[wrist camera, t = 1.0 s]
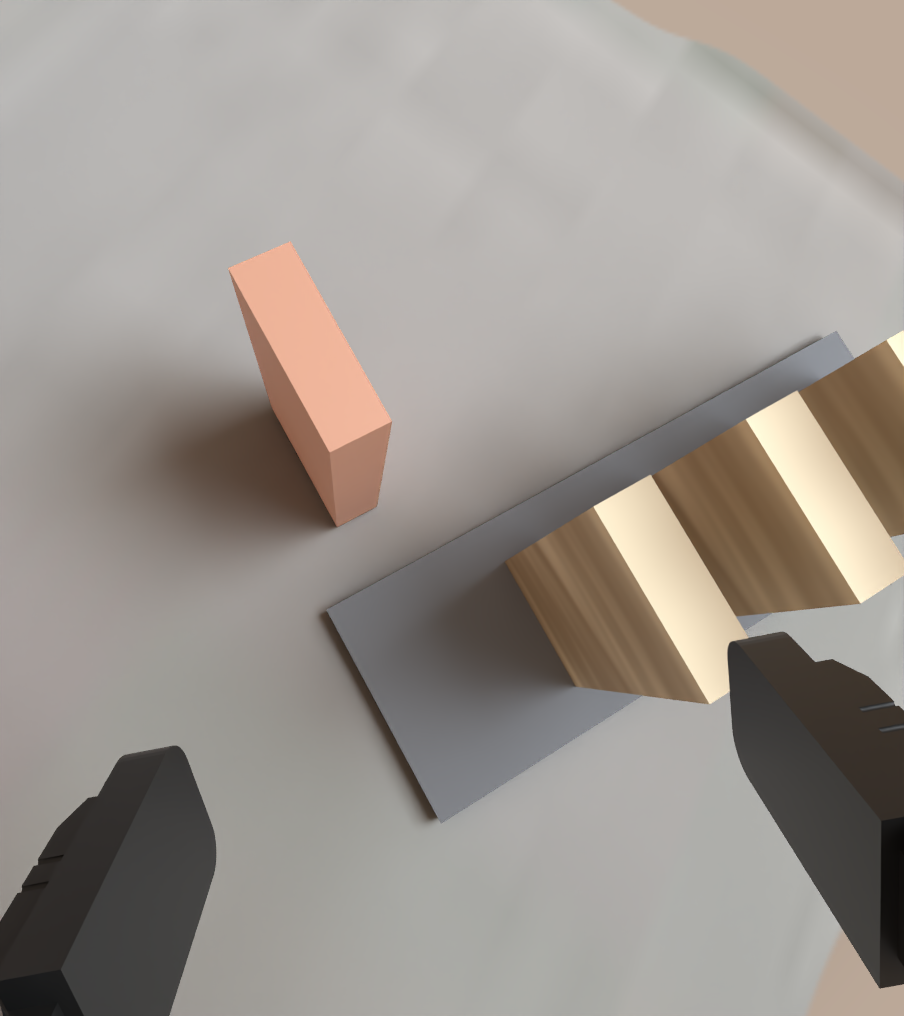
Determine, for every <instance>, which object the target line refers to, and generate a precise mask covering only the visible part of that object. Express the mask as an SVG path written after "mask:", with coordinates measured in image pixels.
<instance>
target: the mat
mask: <svg viewBox="0 0 904 1016" xmlns="http://www.w3.org/2000/svg"><path fill="white" fill-rule="evenodd" d="M852 360H854V357H853V356H852V354H851V353H850V351H849V350H848V348H847V347H846V345H845V343H844V342H843V340H842V339H841V337H840V336H839V334H838V333H837V331H835V332H833V333H831V334H830V335H828V336H826V337H824V338H822V339H821V340H819V341H817V342H815V343H813V344H811V345H810V346H808V347H806V348H804V349H802V350H800V351H799V352H797V353H795V354H793V355H791V356H789V357H788V358H786V359H784V360H782V361H780V362H778V363H777V364H775V365H773V366H771V367H769V368H767V369H766V370H764V371H762V372H760V373H758V374H757V375H755V376H753V377H751V378H749V379H747V380H746V381H744V382H742V383H740V384H738V385H736V386H735V387H733V388H731V389H729V390H727V391H725V392H724V393H722V394H720V395H718V396H716V397H714V398H713V399H711V400H709V401H707V402H705V403H703V404H702V405H700V406H698V407H696V408H694V409H692V410H691V411H689V412H687V413H685V414H683V415H682V416H680V417H678V418H676V419H674V420H672V421H671V422H669V423H667V424H665V425H663V426H661V427H660V428H658V429H656V430H654V431H652V432H650V433H649V434H647V435H645V436H643V437H641V438H639V439H638V440H636V441H634V442H632V443H630V444H628V445H627V446H625V447H623V448H621V449H619V450H617V451H616V452H614V453H612V454H610V455H608V456H607V457H605V458H603V459H601V460H599V461H597V462H596V463H594V464H592V465H590V466H588V467H586V468H585V469H583V470H581V471H579V472H577V473H575V474H574V475H572V476H570V477H568V478H566V479H564V480H563V481H561V482H559V483H557V484H555V485H553V486H552V487H550V488H548V489H546V490H544V491H543V492H541V493H539V494H537V495H535V496H533V497H532V498H530V499H528V500H526V501H524V502H522V503H521V504H519V505H517V506H515V507H513V508H511V509H510V510H508V511H506V512H504V513H502V514H500V515H499V516H497V517H495V518H493V519H491V520H489V521H488V522H486V523H484V524H482V525H480V526H478V527H477V528H475V529H473V530H471V531H469V532H468V533H466V534H464V535H462V536H460V537H458V538H457V539H455V540H453V541H451V542H449V543H447V544H446V545H444V546H442V547H440V548H438V549H436V550H435V551H433V552H431V553H429V554H427V555H425V556H424V557H422V558H420V559H418V560H416V561H414V562H413V563H411V564H409V565H407V566H405V567H403V568H402V569H400V570H398V571H396V572H394V573H393V574H391V575H389V576H387V577H385V578H383V579H382V580H380V581H378V582H376V583H374V584H372V585H371V586H369V587H367V588H365V589H363V590H361V591H360V592H358V593H356V594H354V595H352V596H350V597H349V598H347V599H345V600H343V601H341V602H339V603H338V604H336V605H334V606H332V607H330V608H328V609H327V612H328V614H329V616H330V618H331V620H332V621H333V623H334V625H335V627H336V629H337V631H338V633H339V634H340V636H341V638H342V640H343V642H344V644H345V646H346V647H347V649H348V651H349V653H350V655H351V657H352V659H353V661H354V662H355V664H356V666H357V668H358V670H359V672H360V674H361V675H362V677H363V679H364V681H365V683H366V685H367V687H368V689H369V690H370V692H371V694H372V696H373V698H374V700H375V702H376V703H377V705H378V707H379V709H380V711H381V713H382V715H383V716H384V718H385V720H386V722H387V724H388V726H389V728H390V730H391V731H392V733H393V735H394V737H395V739H396V741H397V743H398V744H399V746H400V748H401V750H402V752H403V754H404V756H405V758H406V759H407V761H408V763H409V765H410V767H411V769H412V771H413V772H414V774H415V776H416V778H417V780H418V782H419V784H420V785H421V787H422V789H423V791H424V793H425V795H426V797H427V799H428V800H429V802H430V804H431V806H432V808H433V810H434V812H435V813H436V815H437V817H438V819H439V821H440V823H443V822H444V821H446V820H448V819H449V818H451V817H452V816H454V815H455V814H457V813H459V812H460V811H462V810H463V809H465V808H466V807H468V806H470V805H471V804H473V803H474V802H476V801H477V800H479V799H481V798H482V797H484V796H485V795H487V794H488V793H490V792H492V791H493V790H495V789H496V788H498V787H499V786H501V785H503V784H504V783H506V782H507V781H509V780H510V779H512V778H514V777H515V776H517V775H518V774H520V773H521V772H523V771H525V770H526V769H528V768H529V767H531V766H532V765H534V764H536V763H537V762H539V761H540V760H542V759H543V758H545V757H547V756H548V755H550V754H551V753H553V752H554V751H556V750H558V749H559V748H561V747H562V746H564V745H565V744H567V743H569V742H570V741H572V740H573V739H575V738H576V737H578V736H580V735H581V734H583V733H584V732H586V731H587V730H589V729H591V728H592V727H594V726H595V725H597V724H598V723H600V722H602V721H603V720H605V719H606V718H608V717H609V716H611V715H613V714H614V713H616V712H617V711H619V710H620V709H622V708H624V707H625V706H627V705H628V704H630V703H632V702H633V701H635V700H636V699H638V698H639V697H641V696H643V695H635V694H627V693H620V692H612V691H605V690H597V689H589V688H582V687H576V686H575V684H574V682H573V681H572V679H571V677H570V675H569V674H568V672H567V670H566V668H565V667H564V665H563V663H562V661H561V660H560V658H559V656H558V654H557V653H556V651H555V649H554V647H553V646H552V644H551V642H550V640H549V639H548V637H547V635H546V633H545V631H544V630H543V628H542V626H541V624H540V623H539V621H538V619H537V617H536V616H535V614H534V612H533V610H532V609H531V607H530V605H529V603H528V602H527V600H526V598H525V596H524V595H523V593H522V591H521V589H520V588H519V586H518V584H517V582H516V581H515V579H514V577H513V575H512V574H511V572H510V570H509V568H508V566H507V565H506V563H505V561H506V560H508V559H509V558H511V557H513V556H514V555H516V554H518V553H519V552H521V551H522V550H524V549H526V548H527V547H529V546H530V545H532V544H534V543H535V542H537V541H539V540H540V539H542V538H543V537H545V536H547V535H548V534H550V533H552V532H553V531H555V530H556V529H558V528H560V527H561V526H563V525H564V524H566V523H568V522H569V521H571V520H573V519H574V518H576V517H577V516H579V515H581V514H582V513H584V512H585V511H587V510H589V509H590V508H592V507H594V506H595V505H597V504H599V503H601V502H602V501H604V500H606V499H608V498H610V497H611V496H613V495H615V494H617V493H618V492H620V491H622V490H624V489H626V488H627V487H629V486H631V485H633V484H635V483H636V482H638V481H640V480H642V479H643V478H645V477H647V476H649V475H651V476H652V475H654V474H655V473H657V472H659V471H660V470H662V469H664V468H665V467H667V466H669V465H670V464H672V463H674V462H675V461H677V460H679V459H680V458H682V457H684V456H685V455H687V454H689V453H690V452H692V451H694V450H695V449H697V448H699V447H700V446H702V445H704V444H705V443H707V442H709V441H710V440H712V439H714V438H715V437H717V436H719V435H720V434H722V433H724V432H725V431H727V430H728V429H730V428H732V427H733V426H735V425H737V424H738V423H740V422H742V421H743V420H745V419H747V418H749V417H750V416H752V415H754V414H756V413H758V412H759V411H761V410H763V409H765V408H766V407H768V406H770V405H772V404H774V403H775V402H777V401H779V400H781V399H783V398H784V397H786V396H788V395H790V394H791V393H793V392H795V391H798V392H800V391H801V390H803V389H805V388H806V387H808V386H810V385H811V384H813V383H815V382H816V381H818V380H820V379H822V378H823V377H825V376H827V375H828V374H830V373H832V372H833V371H835V370H837V369H838V368H840V367H842V366H844V365H845V364H847V363H849V362H850V361H852ZM892 537H893V536H892ZM890 538H891V537H890ZM770 614H771V613H766V614H756V615H747V616H737V617H736V618H737V619H738V621H739V623H740V624H741V626H742V628H743V629H744V631H745V630H746V629H748V628H749V627H751V626H753V625H754V624H756V623H757V622H759V621H760V620H762V619H764V618H765V617H767V616H768V615H770Z"/></svg>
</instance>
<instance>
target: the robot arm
mask: <svg viewBox="0 0 904 1016" xmlns="http://www.w3.org/2000/svg"><path fill="white" fill-rule="evenodd" d="M727 660H728V674H729V688H730V702H731V716H732V729H733V737H734V742H735V746H736V750H737V753H738V756H739V759H740V762H741V764H742V767H743V769H744V771H745V773H746V775H747V777H748V779H749V780H750V782H751V783H752V785H753V787H754V788H755V790H756V791H757V793H758V795H759V796H760V798H761V799H762V801H763V803H764V804H765V806H766V807H767V809H768V811H769V812H770V814H771V815H772V817H773V819H774V820H775V822H776V823H777V825H778V827H779V828H780V830H781V831H782V833H783V835H784V836H785V838H786V839H787V841H788V843H789V844H790V846H791V847H792V849H793V851H794V852H795V854H796V855H797V857H798V859H799V860H800V862H801V863H802V865H803V867H804V868H805V870H806V871H807V873H808V875H809V876H810V878H811V879H812V881H813V883H814V884H815V886H816V887H817V889H818V891H819V892H820V894H821V895H822V897H823V899H824V900H825V902H826V903H827V905H828V907H829V908H830V910H831V911H832V913H833V915H834V916H835V918H836V919H837V921H838V923H839V924H840V926H841V927H842V929H843V931H844V932H845V934H846V935H847V937H848V939H849V940H850V942H851V943H852V945H853V947H854V948H855V950H856V951H857V953H858V954H859V956H860V958H861V959H862V961H863V963H864V964H865V966H866V967H867V969H868V971H869V972H870V974H871V975H872V977H873V979H874V980H875V982H876V983H877V985H878V986H879V988H885V987H891V986H896V985H902V984H904V710H903V709H902V708H901V707H900V706H895V704H894V701H893V700H892V699H891V698H890V697H889V696H888V695H887V694H886V693H885V692H884V691H883V690H882V689H881V688H880V687H879V686H878V685H876V684H875V683H874V682H873V681H872V680H871V679H870V678H869V677H868V676H866V675H864V674H862V673H860V672H857V671H855V670H853V669H851V668H849V667H847V666H845V665H843V664H841V663H839V662H837V661H835V660H833V659H830V660H825V661H820V662H814V661H813V660H812V658H811V657H810V656H809V655H808V654H807V653H806V652H805V651H804V650H803V649H802V648H801V647H800V646H799V645H798V644H797V643H796V642H795V641H794V640H793V639H792V638H791V637H790V636H789V635H788V634H787V633H785V632H778V633H772V634H767V635H762V636H757V637H751V638H746V639H741V640H736V641H731V642H730V643H729V645H728V649H727ZM215 865H216V841H215V835H214V830H213V827H212V824H211V821H210V819H209V816H208V813H207V811H206V808H205V805H204V803H203V800H202V797H201V795H200V792H199V789H198V787H197V784H196V781H195V779H194V776H193V773H192V771H191V768H190V765H189V763H188V760H187V758H186V755H185V753H184V752H183V750H182V749H181V748H180V747H178V746H169V747H164V748H159V749H153V750H148V751H143V752H138V753H132V754H127V755H124V756H122V757H121V758H120V759H119V760H118V762H117V763H116V765H115V767H114V768H113V770H112V772H111V774H110V775H109V777H108V779H107V781H106V782H105V784H104V786H103V788H102V789H101V791H100V793H99V795H98V796H97V797H91V798H88V799H87V800H86V801H85V802H83V803H82V804H81V805H80V806H79V807H78V808H77V809H76V810H75V811H74V812H73V813H72V814H71V815H70V816H69V817H68V818H67V819H66V820H65V821H64V822H63V823H62V824H61V825H60V826H59V827H58V828H57V829H56V831H55V832H54V834H53V836H52V837H51V839H50V841H49V842H48V844H47V845H46V847H45V849H44V850H43V852H42V854H41V855H40V857H39V859H38V865H36V866H34V867H33V868H32V870H31V872H30V873H29V875H28V877H27V878H26V880H25V882H24V883H23V885H22V892H21V893H17V895H16V896H15V898H14V900H13V901H12V903H11V905H10V906H9V908H8V910H7V911H6V913H5V914H4V916H3V918H2V919H1V921H0V1016H169V1015H170V1012H171V1008H172V1005H173V1002H174V999H175V996H176V993H177V989H178V986H179V983H180V980H181V977H182V974H183V970H184V967H185V964H186V961H187V958H188V955H189V951H190V948H191V945H192V942H193V939H194V936H195V932H196V929H197V926H198V923H199V920H200V917H201V913H202V910H203V907H204V904H205V901H206V898H207V895H208V891H209V888H210V885H211V882H212V879H213V875H214V871H215Z"/></svg>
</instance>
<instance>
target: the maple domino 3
mask: <svg viewBox="0 0 904 1016" xmlns="http://www.w3.org/2000/svg"><path fill="white" fill-rule="evenodd" d="M798 393H799V394H800V396H801V397H802V399H803V400H804V402H805V404H806V405H807V407H808V408H809V410H810V411H811V413H812V415H813V416H814V418H815V419H816V421H817V423H818V424H819V426H820V427H821V429H822V430H823V432H824V434H825V435H826V437H827V438H828V440H829V441H830V443H831V445H832V446H833V448H834V449H835V451H836V453H837V454H838V456H839V457H840V459H841V460H842V462H843V464H844V465H845V467H846V468H847V470H848V471H849V473H850V475H851V476H852V478H853V479H854V481H855V482H856V484H857V486H858V487H859V489H860V490H861V492H862V494H863V495H864V497H865V498H866V500H867V501H868V503H869V505H870V506H871V508H872V509H873V511H874V512H875V514H876V516H877V517H878V519H879V520H880V522H881V523H882V525H883V527H884V528H885V530H886V531H887V533H888V535H889V536H890V537H892V536H897V535H901V534H904V331H902V332H900V333H898V334H896V335H895V336H893V337H891V338H889V339H888V340H886V341H884V342H882V343H881V344H879V345H877V346H876V347H874V348H872V349H871V350H869V351H867V352H866V353H864V354H862V355H860V356H859V357H857V358H855V359H854V360H852V361H850V362H849V363H847V364H845V365H844V366H842V367H840V368H838V369H837V370H835V371H833V372H832V373H830V374H828V375H827V376H825V377H823V378H822V379H820V380H818V381H816V382H815V383H813V384H811V385H810V386H808V387H806V388H805V389H803V390H801V391H800V392H798Z"/></svg>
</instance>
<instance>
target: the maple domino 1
mask: <svg viewBox="0 0 904 1016" xmlns="http://www.w3.org/2000/svg"><path fill="white" fill-rule="evenodd" d="M505 563H506V565H507V566H508V568H509V570H510V572H511V574H512V575H513V577H514V579H515V581H516V582H517V584H518V586H519V588H520V589H521V591H522V593H523V595H524V596H525V598H526V600H527V602H528V603H529V605H530V607H531V609H532V610H533V612H534V614H535V616H536V617H537V619H538V621H539V623H540V624H541V626H542V628H543V630H544V631H545V633H546V635H547V637H548V639H549V640H550V642H551V644H552V646H553V647H554V649H555V651H556V653H557V654H558V656H559V658H560V660H561V661H562V663H563V665H564V667H565V668H566V670H567V672H568V674H569V675H570V677H571V679H572V681H573V682H574V684H575V686H576V687H582V688H589V689H597V690H605V691H612V692H620V693H627V694H635V695H643V696H650V697H658V698H665V699H673V700H681V701H688V702H696V703H704V704H711V703H713V702H714V701H716V700H717V699H719V698H720V697H722V696H723V695H725V694H726V693H728V692H729V691H730V688H729V674H728V660H727V649H728V645H729V643H730V642H731V641H736V640H741V639H746V638H748V636H747V634H746V633H745V631H744V629H743V628H742V626H741V624H740V623H739V621H738V619H737V618H736V616H735V614H734V613H733V611H732V609H731V608H730V606H729V604H728V603H727V601H726V599H725V598H724V596H723V594H722V593H721V591H720V589H719V588H718V586H717V584H716V583H715V581H714V579H713V578H712V576H711V574H710V573H709V571H708V569H707V568H706V566H705V564H704V563H703V561H702V559H701V558H700V556H699V554H698V553H697V551H696V549H695V548H694V546H693V544H692V543H691V541H690V539H689V538H688V536H687V534H686V533H685V531H684V529H683V528H682V526H681V524H680V523H679V521H678V519H677V518H676V516H675V514H674V513H673V511H672V509H671V508H670V506H669V504H668V503H667V501H666V499H665V498H664V496H663V495H662V493H661V491H660V490H659V488H658V486H657V485H656V483H655V481H654V480H653V478H652V476H651V475H649V476H647V477H645V478H643V479H642V480H640V481H638V482H636V483H635V484H633V485H631V486H629V487H627V488H626V489H624V490H622V491H620V492H618V493H617V494H615V495H613V496H611V497H610V498H608V499H606V500H604V501H602V502H601V503H599V504H597V505H595V506H594V507H592V508H590V509H589V510H587V511H585V512H584V513H582V514H581V515H579V516H577V517H576V518H574V519H573V520H571V521H569V522H568V523H566V524H564V525H563V526H561V527H560V528H558V529H556V530H555V531H553V532H552V533H550V534H548V535H547V536H545V537H543V538H542V539H540V540H539V541H537V542H535V543H534V544H532V545H530V546H529V547H527V548H526V549H524V550H522V551H521V552H519V553H518V554H516V555H514V556H513V557H511V558H509V559H508V560H506V561H505Z"/></svg>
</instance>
